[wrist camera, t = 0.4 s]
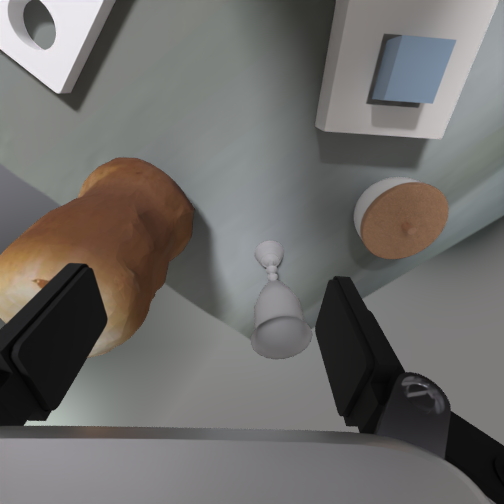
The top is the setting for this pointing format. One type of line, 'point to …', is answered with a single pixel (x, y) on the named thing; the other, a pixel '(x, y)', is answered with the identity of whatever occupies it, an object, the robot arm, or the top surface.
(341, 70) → the key panel
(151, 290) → the butternut squash
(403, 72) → the slate-blue key
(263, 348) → the chalice
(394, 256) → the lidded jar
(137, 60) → the top surface
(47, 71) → the holder
